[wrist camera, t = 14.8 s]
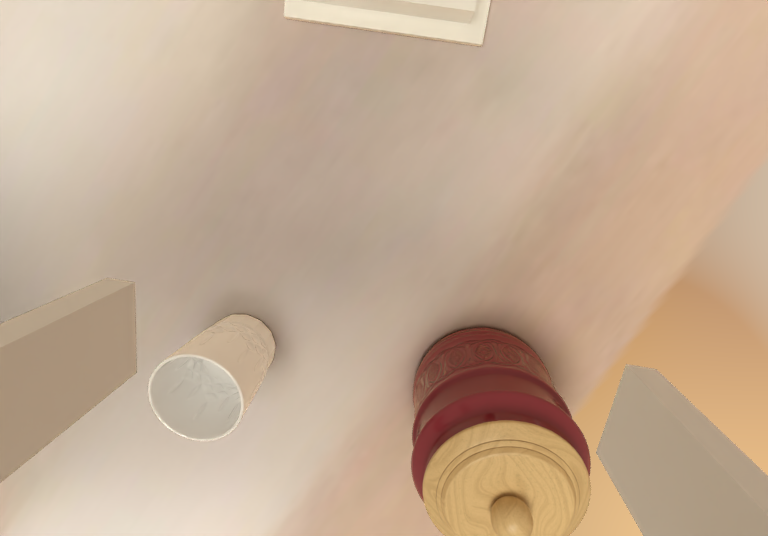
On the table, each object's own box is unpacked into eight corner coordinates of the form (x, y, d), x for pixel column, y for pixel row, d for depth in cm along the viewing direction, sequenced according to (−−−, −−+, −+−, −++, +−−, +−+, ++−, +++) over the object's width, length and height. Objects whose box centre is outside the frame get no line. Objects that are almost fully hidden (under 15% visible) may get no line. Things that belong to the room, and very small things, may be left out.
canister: (427, 312, 42) (432, 426, 25) (561, 337, 41) (660, 472, 24) (402, 426, 45) (392, 593, 28) (526, 450, 45) (589, 635, 28)
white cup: (231, 292, 43) (177, 335, 33) (296, 339, 44) (262, 394, 34) (192, 348, 45) (130, 403, 35) (254, 392, 46) (211, 458, 36)
